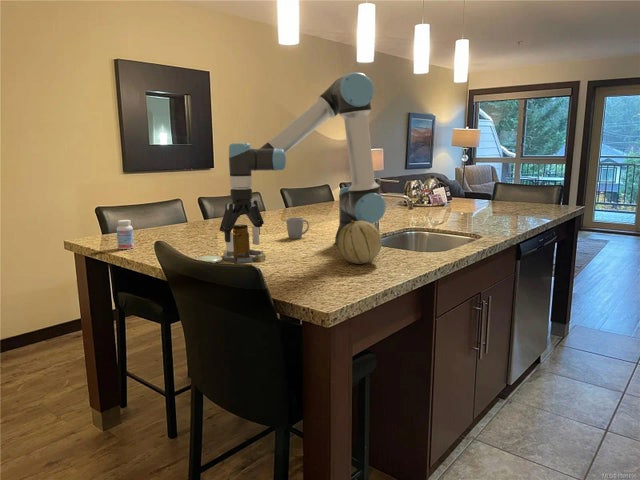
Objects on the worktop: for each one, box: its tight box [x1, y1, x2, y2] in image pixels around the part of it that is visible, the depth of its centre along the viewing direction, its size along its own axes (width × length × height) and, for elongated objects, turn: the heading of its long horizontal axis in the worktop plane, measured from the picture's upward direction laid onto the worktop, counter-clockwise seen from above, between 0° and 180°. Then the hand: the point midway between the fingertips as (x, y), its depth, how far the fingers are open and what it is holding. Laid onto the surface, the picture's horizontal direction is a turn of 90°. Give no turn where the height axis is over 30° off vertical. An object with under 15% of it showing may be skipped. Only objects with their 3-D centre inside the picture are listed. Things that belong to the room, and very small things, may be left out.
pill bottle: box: [116, 219, 135, 251], centre depth 189 cm, size 6×6×11 cm
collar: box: [223, 249, 266, 264], centre depth 171 cm, size 18×14×2 cm
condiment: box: [232, 223, 256, 258], centre depth 170 cm, size 7×8×12 cm
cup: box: [285, 217, 310, 240], centre depth 209 cm, size 8×10×8 cm
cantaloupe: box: [337, 221, 383, 265], centre depth 161 cm, size 15×15×15 cm
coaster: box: [194, 255, 223, 263], centre depth 168 cm, size 10×10×1 cm
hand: (243, 247), depth 171 cm, fingers open, 13 cm apart
